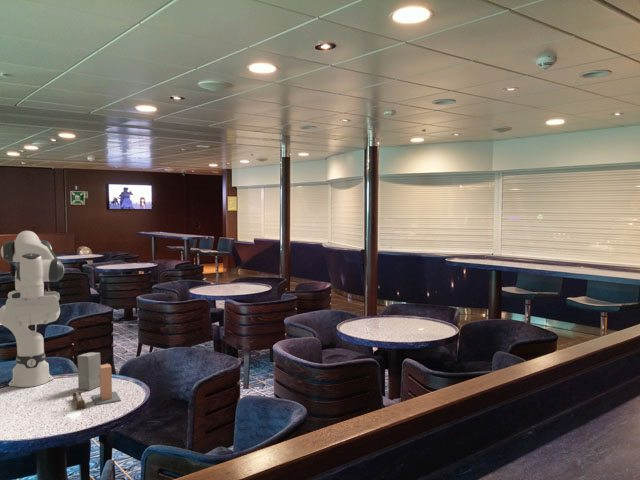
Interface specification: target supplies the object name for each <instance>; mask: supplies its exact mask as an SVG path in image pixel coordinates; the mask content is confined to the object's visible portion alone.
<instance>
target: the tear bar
mask: <svg viewBox="0 0 640 480" xmlns="http://www.w3.org/2000/svg"><path fill="white" fill-rule="evenodd" d="M72 400H73V403H74V406H75V409H76V410H83V409H85V406H86V405H85V403H86V402H85V400H84V399H83V397H82V392H81V390H80V391H74V392H72Z"/></svg>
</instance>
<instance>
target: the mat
mask: <svg viewBox="0 0 640 480" xmlns="http://www.w3.org/2000/svg"><path fill="white" fill-rule="evenodd" d="M91 398H92V400H93V403H94V404H95V406H99V405H100V406H101V405H106V404H111V403H117V402H121V398H120V396H119V395H118V393H117V391H112V399H106V400H102V399H101V397H100V393H99V394H93V395H91Z"/></svg>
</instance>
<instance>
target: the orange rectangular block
mask: <svg viewBox="0 0 640 480" xmlns="http://www.w3.org/2000/svg"><path fill="white" fill-rule="evenodd" d="M112 373H113V372H112V366H111V364H110V363H107V364H101V365H100V386H99V392H100V393H99V394H100V397H101V399H102V400H106V399H112V392H113V388H112V387H113V385H112V382H113V381H112V379H113V377H112Z"/></svg>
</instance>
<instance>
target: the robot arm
mask: <svg viewBox="0 0 640 480" xmlns="http://www.w3.org/2000/svg"><path fill="white" fill-rule="evenodd" d="M0 254H1V257H2V259H3V261H4V262H7V263H18V264H16V265H15V273H14V287H15V290H12V291H9V292H8V294H7V299H6V301H5V304H4V305H2V306H1V307H0V324H1V326H3V327H5V328H7V329H8V330H9V331H10V332H11V333H12V334H13V336H14V338H15V341H16V352H17V354H16V357H15V360H16V365H15V366H13V368H12V369H11V373H12V374H13V375H12V378H11V380H10V381H9V383H8V385H9V386H8V387H17V388H30V387H31V388H32V387H36V386H40V385H41V386H42V385H43V384H46V383H48V382H51V381H53V380H54V377H53V376H52V375H51V374H50V366H49V363H48V362H47V361H46V360H45V359H46V353H45V348H44V347H45V343H44V337H43V335H42V334H41V333H40V332H37V331H35V330H31V329H30V328H29V326H32V325H33V326H34V325H47V324H49V323H53V322H56V321H57V320H59V319H58V318H59V317H60V314H61V307H60V303H59V300H61V296H60V292H58V291H56V290H51V291H48V290H47V291H45V282H58V281H60V280H61V279H62V278H63V277H64V275H65V267H64V264H63V262H62V260H60V259H59V258H58V256H56V254H55V252H54V251H53V248H52V245H51V243H50V242H49V240H44V239H40V238H39V236H38V235H37V234H36V232H34V231H31V230H23V231H21V232H19V233H18V235H17V236H16V238H15V239H14V240H12V239H11V240H7V241H5V242H4V243H3V244H2V246H1V249H0ZM49 377H50V378H49ZM11 382H13V383H11Z"/></svg>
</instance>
